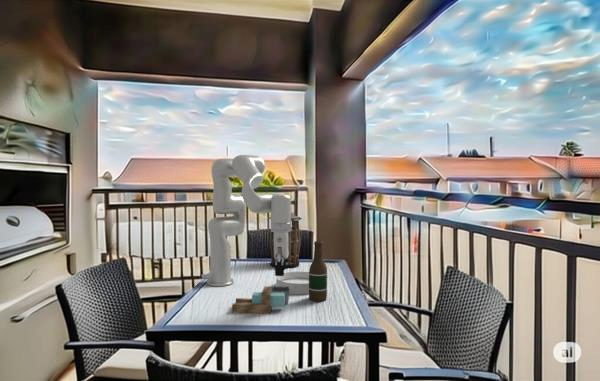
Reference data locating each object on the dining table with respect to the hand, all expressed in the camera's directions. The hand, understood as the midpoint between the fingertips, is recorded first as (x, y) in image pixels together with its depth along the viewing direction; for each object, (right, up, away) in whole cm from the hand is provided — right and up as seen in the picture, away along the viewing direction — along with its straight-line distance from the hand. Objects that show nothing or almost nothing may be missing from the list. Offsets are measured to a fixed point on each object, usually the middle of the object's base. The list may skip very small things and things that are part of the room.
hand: (280, 272), depth 142 cm
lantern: (-1, -13, +76) cm, 77 cm away
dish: (+7, -14, +31) cm, 35 cm away
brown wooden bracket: (-11, -14, +1) cm, 18 cm away
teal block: (-4, -10, 0) cm, 11 cm away
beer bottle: (+15, -14, +14) cm, 25 cm away
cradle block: (-1, -14, +10) cm, 17 cm away
